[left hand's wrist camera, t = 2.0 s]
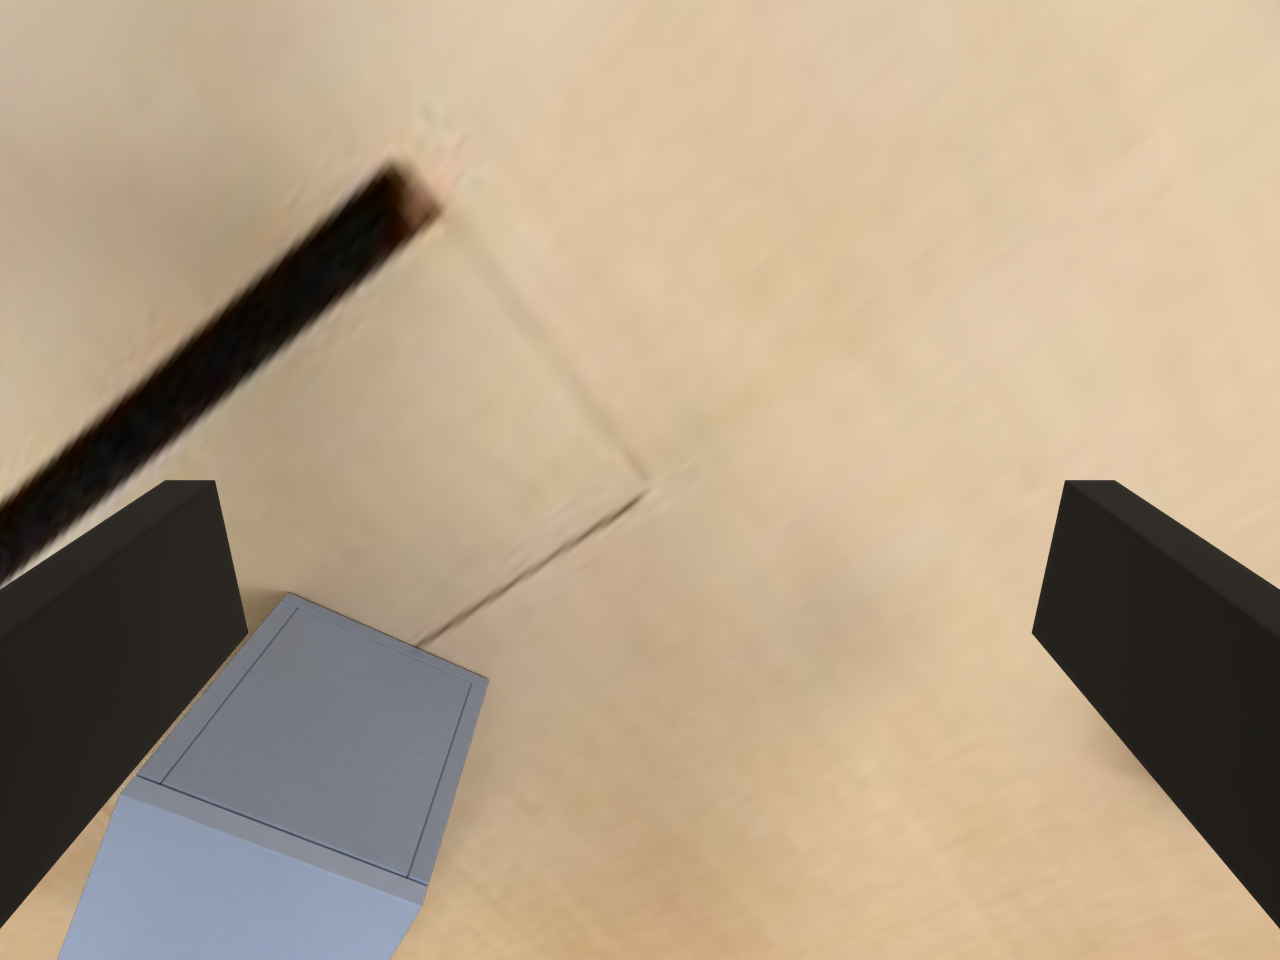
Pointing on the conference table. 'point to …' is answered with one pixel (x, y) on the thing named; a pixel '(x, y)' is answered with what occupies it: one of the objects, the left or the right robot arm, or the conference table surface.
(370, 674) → the chest
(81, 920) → the lid
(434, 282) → the conference table surface
